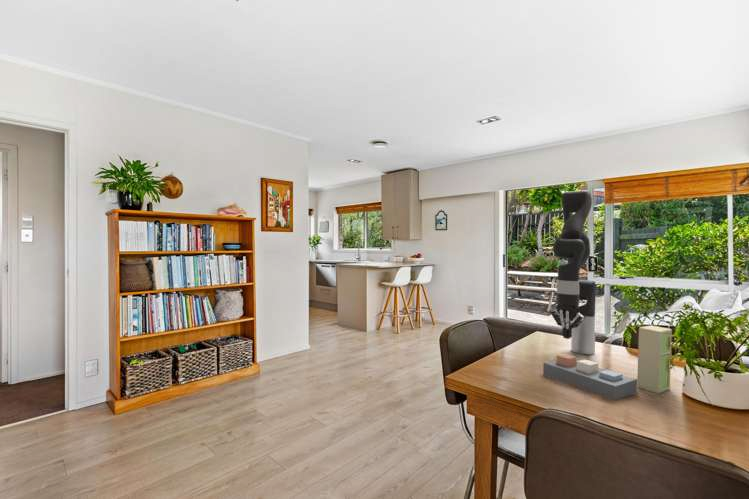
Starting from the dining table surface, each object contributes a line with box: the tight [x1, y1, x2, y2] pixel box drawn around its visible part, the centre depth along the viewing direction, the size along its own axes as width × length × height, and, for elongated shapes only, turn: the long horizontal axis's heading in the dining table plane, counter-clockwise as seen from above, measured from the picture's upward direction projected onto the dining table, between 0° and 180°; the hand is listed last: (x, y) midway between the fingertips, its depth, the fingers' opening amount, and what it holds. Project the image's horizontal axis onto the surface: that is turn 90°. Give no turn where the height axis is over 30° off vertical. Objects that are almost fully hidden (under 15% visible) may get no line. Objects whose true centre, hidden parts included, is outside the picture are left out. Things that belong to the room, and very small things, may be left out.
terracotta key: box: [556, 353, 578, 367], centre depth 139 cm, size 5×5×4 cm
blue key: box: [599, 369, 623, 382], centre depth 126 cm, size 5×5×4 cm
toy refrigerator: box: [636, 325, 673, 394], centre depth 128 cm, size 8×7×21 cm
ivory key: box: [577, 359, 599, 374], centre depth 132 cm, size 5×5×4 cm
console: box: [542, 359, 638, 401], centre depth 133 cm, size 13×26×4 cm, turn 29°
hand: (566, 338), depth 139 cm, fingers closed
